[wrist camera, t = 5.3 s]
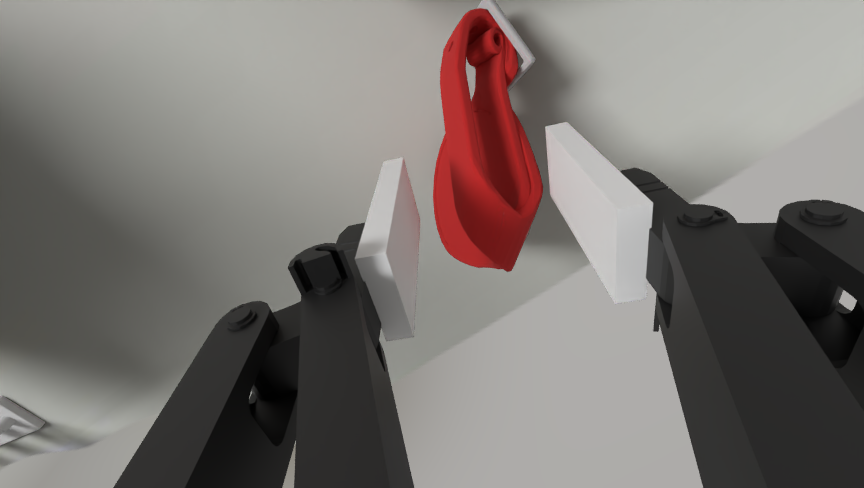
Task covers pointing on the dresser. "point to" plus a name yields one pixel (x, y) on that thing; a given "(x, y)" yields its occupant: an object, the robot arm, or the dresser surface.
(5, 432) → the test tube rack
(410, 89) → the dresser surface
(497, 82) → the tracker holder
